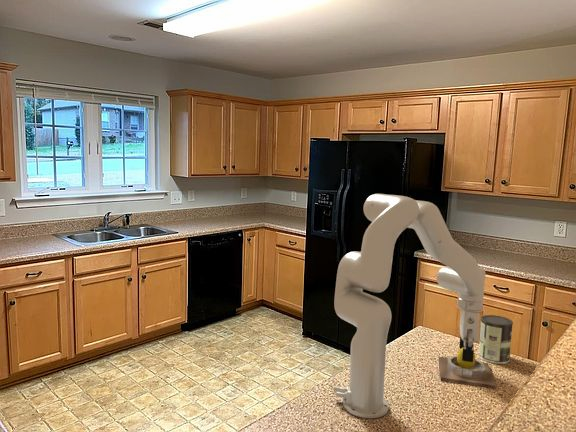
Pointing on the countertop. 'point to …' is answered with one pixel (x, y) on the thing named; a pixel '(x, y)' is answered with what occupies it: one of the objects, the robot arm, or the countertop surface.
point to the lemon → (464, 363)
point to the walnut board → (450, 377)
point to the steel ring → (466, 372)
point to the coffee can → (495, 339)
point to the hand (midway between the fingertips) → (465, 354)
